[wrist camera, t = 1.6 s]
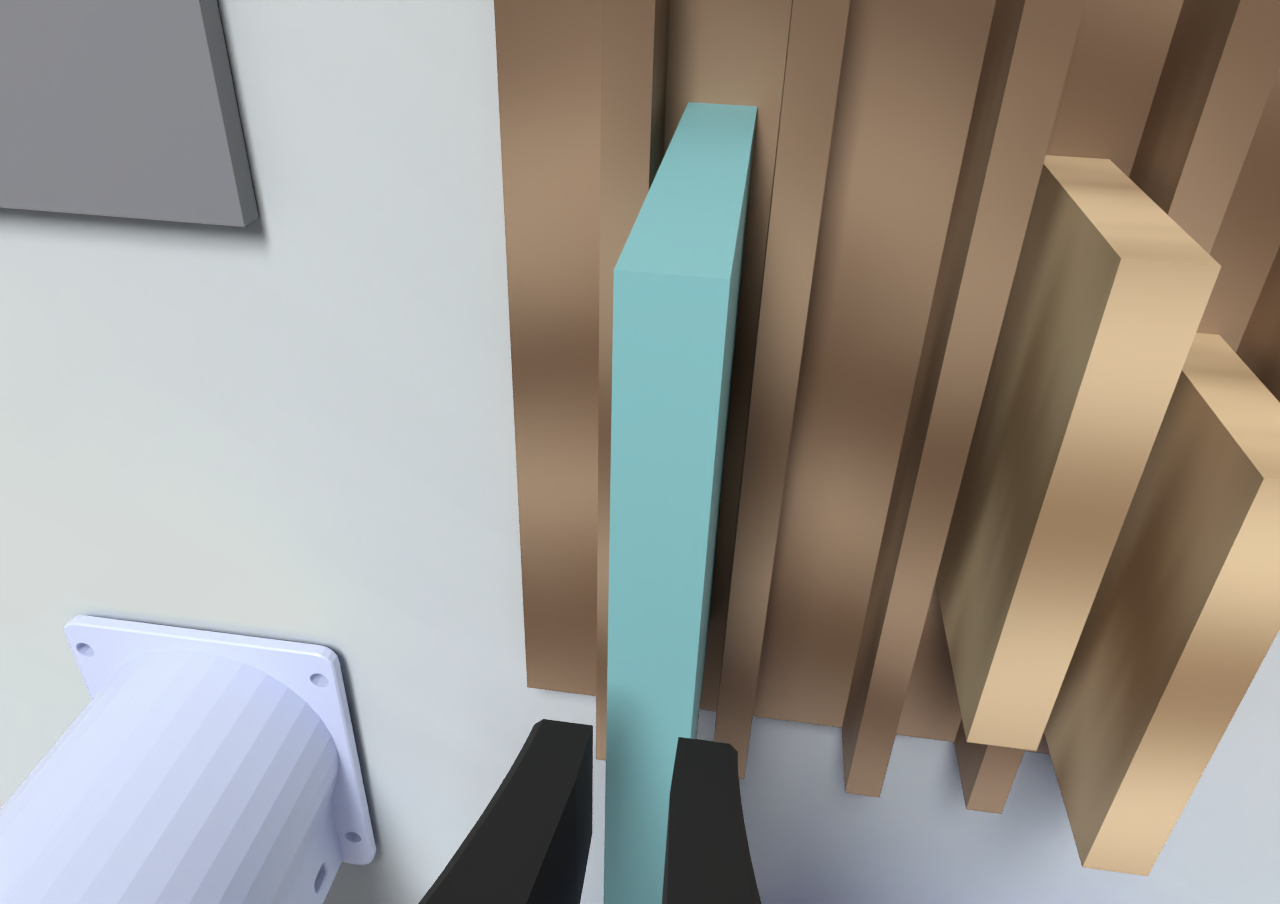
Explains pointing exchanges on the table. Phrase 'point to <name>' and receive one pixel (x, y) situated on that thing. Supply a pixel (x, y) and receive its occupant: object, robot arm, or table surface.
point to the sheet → (668, 472)
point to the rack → (845, 302)
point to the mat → (121, 112)
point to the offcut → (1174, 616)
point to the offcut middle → (1062, 436)
